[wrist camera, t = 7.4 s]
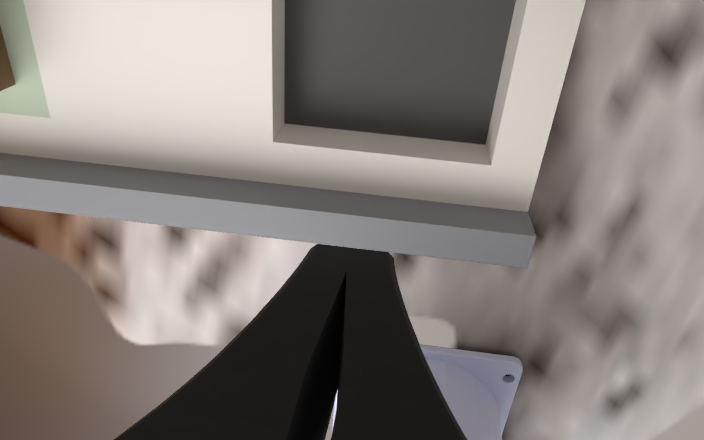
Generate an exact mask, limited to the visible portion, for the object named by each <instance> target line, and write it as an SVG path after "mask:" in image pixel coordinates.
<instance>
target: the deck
mask: <svg viewBox="0 0 704 440" xmlns="http://www.w3.org/2000/svg"><path fill="white" fill-rule="evenodd" d="M585 2H586V0H0V26H1V29H2V33H3V37H4V41H5V45H6V49H7V53H8V57H9V61H10V64H11V68H12V72H13V76H14V80H15V85H13V86H11V87H9V88H7V89H4V90H2V91H0V206H6V207H15V208H23V209H32V210H40V211H48V212H57V213H65V214H74V215H82V216H91V217H99V218H107V219H116V220H124V221H133V222H141V223H150V224H158V225H166V226H175V227H183V228H192V229H200V230H208V231H217V232H225V233H234V234H242V235H251V236H259V237H267V238H276V239H284V240H293V241H301V242H310V243H318V244H326V245H335V246H343V247H352V248H360V249H369V250H377V251H385V252H394V253H402V254H411V255H419V256H428V257H436V258H444V259H453V260H461V261H470V262H478V263H486V264H495V265H503V266H512V267H520V268H527V267H528V264H529V260H530V257H531V253H532V250H533V246H534V243H535V239H536V234H535V231H534V228H533V225H532V222H531V219H530V216H529V214H528V210H529V207H530V203H531V199H532V196H533V192H534V188H535V185H536V181H537V177H538V174H539V170H540V166H541V163H542V159H543V155H544V152H545V148H546V144H547V141H548V137H549V133H550V130H551V126H552V123H553V119H554V115H555V112H556V108H557V104H558V101H559V97H560V93H561V90H562V86H563V82H564V79H565V75H566V71H567V68H568V64H569V60H570V57H571V53H572V49H573V46H574V42H575V38H576V35H577V31H578V28H579V24H580V20H581V17H582V13H583V9H584V6H585Z"/></svg>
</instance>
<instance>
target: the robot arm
mask: <svg viewBox="0 0 704 440" xmlns="http://www.w3.org/2000/svg"><path fill="white" fill-rule="evenodd" d="M522 372H523V367H522V363H521V361H520V360H519V359H518V358H517V357H513V356H506V355H498V354H490V353H483V352H475V351H467V350H459V349H452V348H444V347H435V346H428V345H420V344H419V342H418V340H417V337H416V335H415V332H414V330H413V327H412V324H411V322H410V319H409V317H408V314H407V311H406V308H405V305H404V302H403V299H402V295H401V292H400V289H399V285H398V281H397V277H396V272H395V266H394V258H393V257H392V256H391V255H390V254H389V252H383V251H374V250H365V249H357V248H348V247H340V246H331V245H322V244H317V245H315V246H314V247H312V248H311V249H310V251H309V252H308V254H307V255H306V256H305V258H304V259H303V261H302V262H301V263H300V265H299V266H298V267H297V269H296V270H295V271H294V273H293V274H292V275H291V276H290V278H289V279H288V280H287V281H286V282H285V284H284V285H283V286H282V287H281V288H280V290H279V291H278V292H277V293H276V294H275V295H274V297H273V298H272V299H271V300H270V301H269V302H268V303H267V304H266V305H265V307H264V308H263V309H262V310H261V311H260V312H259V313H258V314H257V316H256V317H255V318H254V319H253V320H252V321H251V322H250V323H249V324H248V325H247V326H246V327H245V328H244V329H243V330H242V331H241V332H240V333H239V334H238V335H237V336H236V337H235V338H234V339H233V340H232V341H231V342H230V343H229V344H228V345H227V346H226V347H225V348H224V349H223V350H222V351H221V352H220V353H219V354H218V355H217V356H216V357H215V358H214V359H213V360H211V361H210V362H209V363H208V364H207V365H206V366H205V367H204V368H203V369H201V370H200V371H199V372H198V373H197V374H196V375H195V376H194V377H193V378H191V379H190V380H189V381H188V382H187V383H186V384H184V385H183V386H182V387H181V388H180V389H178V390H177V391H176V392H175V393H173V394H172V395H171V396H170V397H169V398H167V399H166V400H165V401H164V402H163V403H161V404H160V405H159V406H158V407H156V408H155V409H154V410H152V411H151V412H150V413H148V414H147V415H146V416H145V417H143V418H142V419H141V420H139V421H138V422H137V423H135V424H134V425H133V426H132V427H130V428H129V429H127V430H126V431H125V432H123V433H122V434H121V435H120V436H118V437H117V438H116V439H114V440H325V436H326V432H327V429H328V425H329V421H330V417H331V413H332V409H333V405H334V413H333V428H332V438H331V440H502V433H503V430H504V427H505V424H506V421H507V418H508V415H509V412H510V408H511V405H512V402H513V399H514V396H515V393H516V390H517V387H518V384H519V381H520V378H521V375H522ZM509 374H510V376H505V375H509Z"/></svg>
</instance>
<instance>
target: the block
mask: <svg viewBox="0 0 704 440" xmlns="http://www.w3.org/2000/svg"><path fill="white" fill-rule="evenodd" d="M13 85H15V80H14V76H13V72H12V68H11V64H10V61H9V57H8V53H7V49H6V45H5V41H4V37H3V33H2V29H1V26H0V91H2V90H4V89H7V88H9V87H11V86H13Z"/></svg>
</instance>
